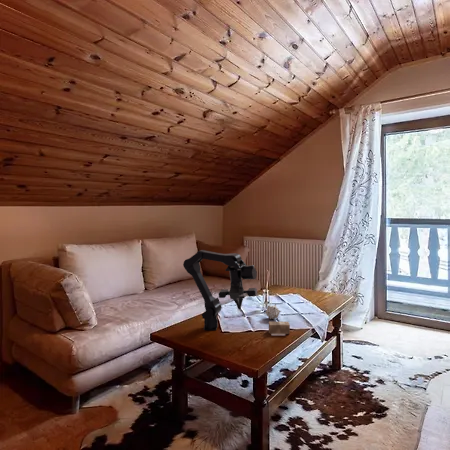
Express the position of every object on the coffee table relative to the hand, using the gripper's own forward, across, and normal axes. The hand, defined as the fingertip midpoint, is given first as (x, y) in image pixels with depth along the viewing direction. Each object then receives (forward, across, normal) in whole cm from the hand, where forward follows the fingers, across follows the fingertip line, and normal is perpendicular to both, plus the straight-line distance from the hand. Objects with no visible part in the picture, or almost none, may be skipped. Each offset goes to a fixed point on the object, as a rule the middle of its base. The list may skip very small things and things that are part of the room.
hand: (239, 309), depth 177 cm
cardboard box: (+11, +13, +4) cm, 18 cm away
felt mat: (+14, +17, +5) cm, 23 cm away
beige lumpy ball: (+15, +12, +23) cm, 30 cm away
